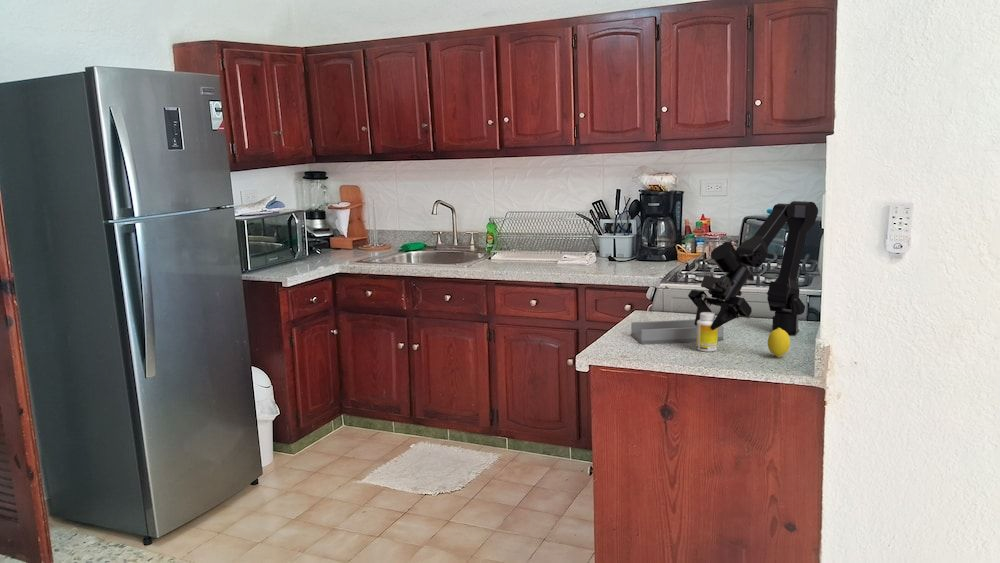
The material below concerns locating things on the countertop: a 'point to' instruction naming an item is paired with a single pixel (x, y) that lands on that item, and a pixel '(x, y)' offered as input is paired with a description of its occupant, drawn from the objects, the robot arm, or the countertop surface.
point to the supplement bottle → (706, 332)
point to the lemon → (778, 342)
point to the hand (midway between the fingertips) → (703, 327)
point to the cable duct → (667, 331)
